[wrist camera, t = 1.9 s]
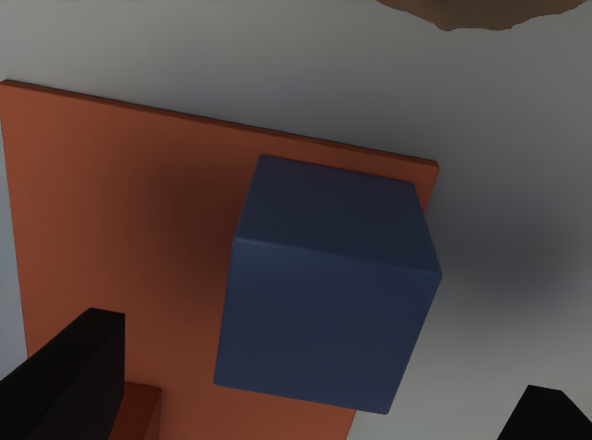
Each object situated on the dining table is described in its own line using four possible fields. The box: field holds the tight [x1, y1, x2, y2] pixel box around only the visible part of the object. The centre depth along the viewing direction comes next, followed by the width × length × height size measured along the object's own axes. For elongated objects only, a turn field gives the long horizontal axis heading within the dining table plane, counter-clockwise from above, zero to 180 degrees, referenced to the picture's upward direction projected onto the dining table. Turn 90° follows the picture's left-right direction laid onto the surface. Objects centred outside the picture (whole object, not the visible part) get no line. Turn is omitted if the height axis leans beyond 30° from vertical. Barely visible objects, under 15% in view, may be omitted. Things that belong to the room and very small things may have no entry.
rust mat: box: [0, 80, 440, 440], centre depth 16 cm, size 14×11×1 cm
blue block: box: [213, 155, 442, 415], centre depth 12 cm, size 4×4×4 cm
